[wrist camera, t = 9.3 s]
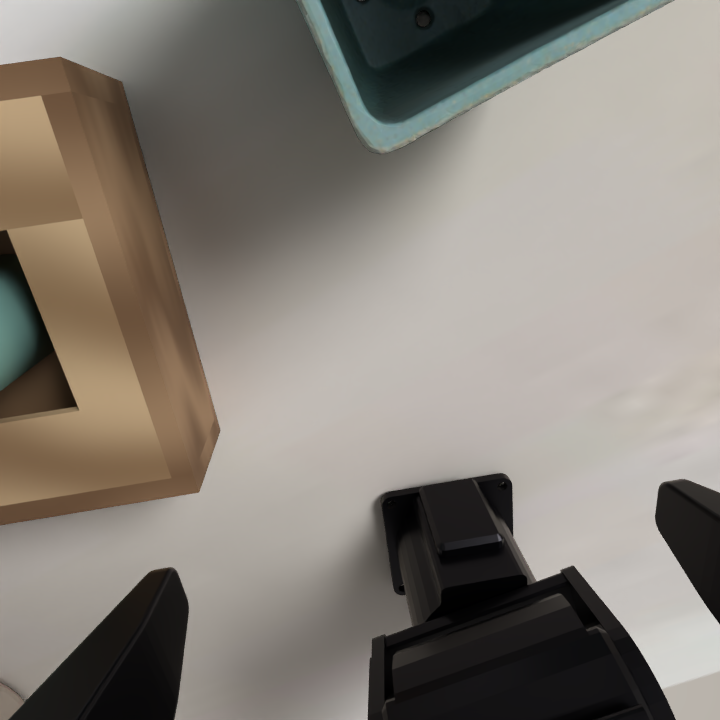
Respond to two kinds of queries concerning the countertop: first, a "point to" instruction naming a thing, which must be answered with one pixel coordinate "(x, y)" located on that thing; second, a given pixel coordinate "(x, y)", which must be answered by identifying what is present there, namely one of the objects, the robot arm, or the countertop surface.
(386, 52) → the flower pot
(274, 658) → the countertop surface
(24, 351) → the dowel
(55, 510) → the brown wooden box
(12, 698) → the coffee cup
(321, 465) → the countertop surface
